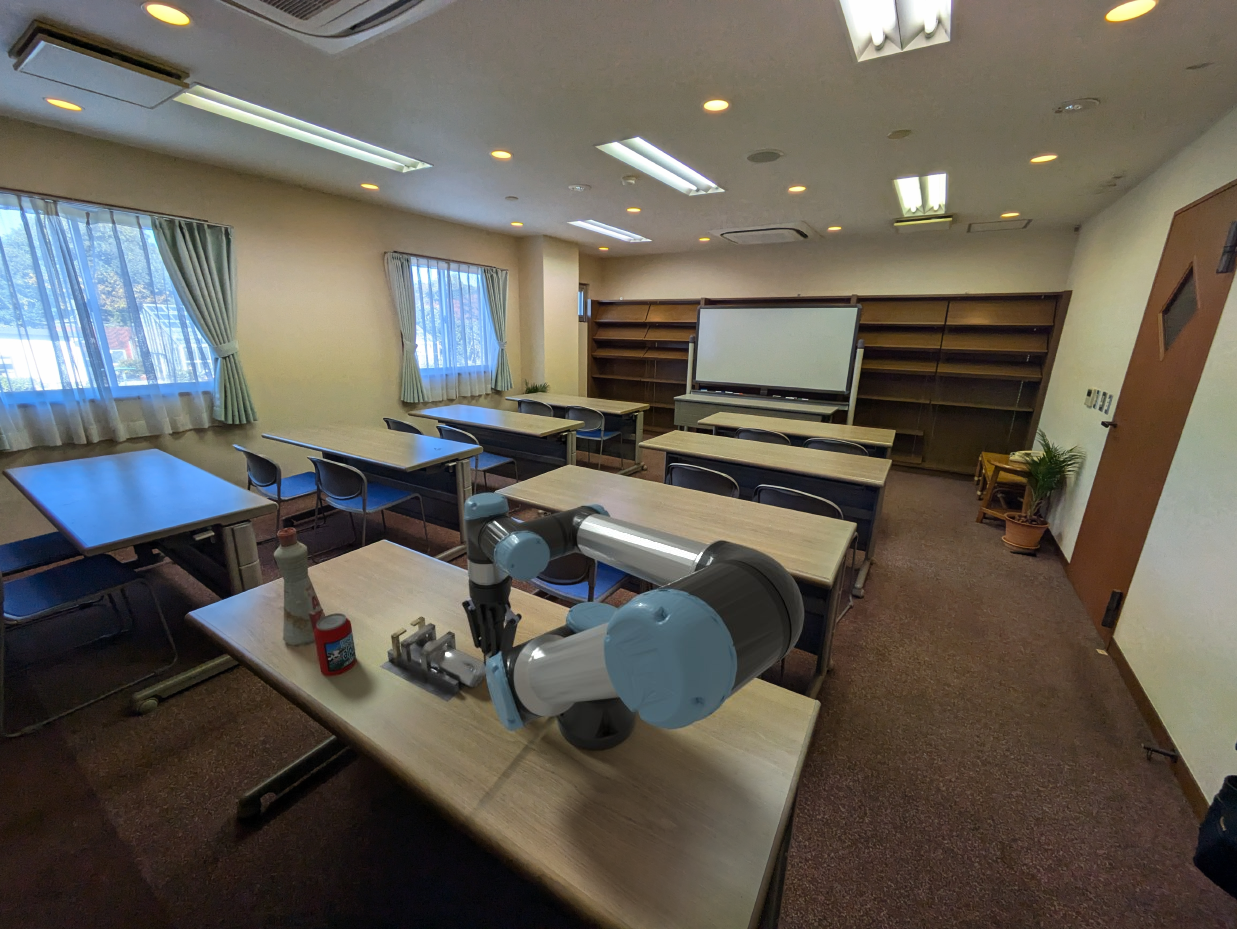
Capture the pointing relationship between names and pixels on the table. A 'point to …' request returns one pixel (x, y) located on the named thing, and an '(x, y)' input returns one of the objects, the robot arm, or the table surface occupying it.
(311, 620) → the bottle
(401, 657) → the grey slotted rack
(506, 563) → the robot arm
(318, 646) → the beverage can
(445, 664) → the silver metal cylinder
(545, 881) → the table surface
